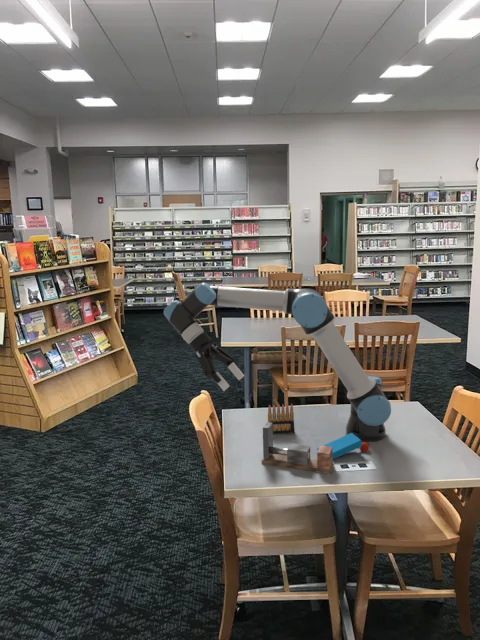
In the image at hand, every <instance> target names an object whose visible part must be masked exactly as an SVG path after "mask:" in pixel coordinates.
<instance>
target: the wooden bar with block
mask: <svg viewBox="0 0 480 640" xmlns="http://www.w3.org/2000/svg"><path fill="white" fill-rule="evenodd" d="M319 447H320V448H319ZM319 447H318V448H319V450H317V452H316V459H313V458H311V455H310V456H309V459H308V452H310V453H311V446H309V445H301V444H294V443H290V444H289V445H288V447H287V448H286V449H287V456H285V455H278V454H273V455H272V456H271V457H270V459H263V458H262V459H261V464H263V465H269V466H277V467H284V468H289V467H290V469H296V468H297V470H303V471H309V470H312V471H311V472H316V471H319V472H318V473H323V472H326V473H325V474H332V471H333V469H334V467H335V463H334V462H335V461H333V460H332V447H329V446H323V445H320V446H319ZM333 466H334V467H333Z"/></svg>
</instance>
